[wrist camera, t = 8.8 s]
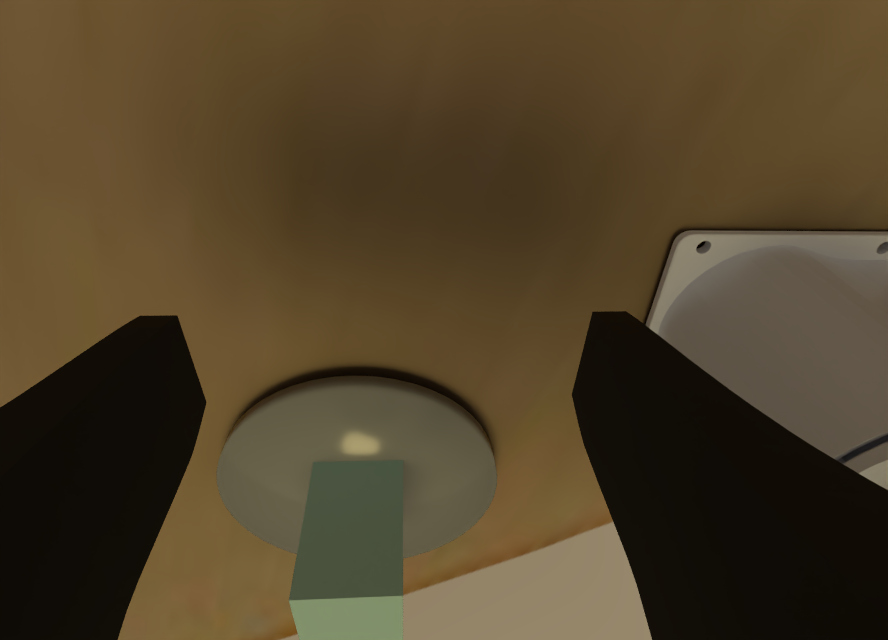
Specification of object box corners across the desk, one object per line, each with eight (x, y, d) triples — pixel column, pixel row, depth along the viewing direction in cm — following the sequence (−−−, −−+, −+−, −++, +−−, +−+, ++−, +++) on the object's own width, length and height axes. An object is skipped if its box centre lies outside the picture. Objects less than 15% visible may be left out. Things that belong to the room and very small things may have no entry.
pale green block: (403, 459, 23) (402, 595, 18) (403, 511, 26) (402, 644, 21) (313, 461, 23) (288, 600, 18) (321, 514, 25) (302, 649, 20)
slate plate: (506, 363, 22) (512, 388, 21) (481, 533, 30) (485, 558, 29) (195, 367, 21) (182, 393, 20) (253, 541, 29) (246, 567, 28)
